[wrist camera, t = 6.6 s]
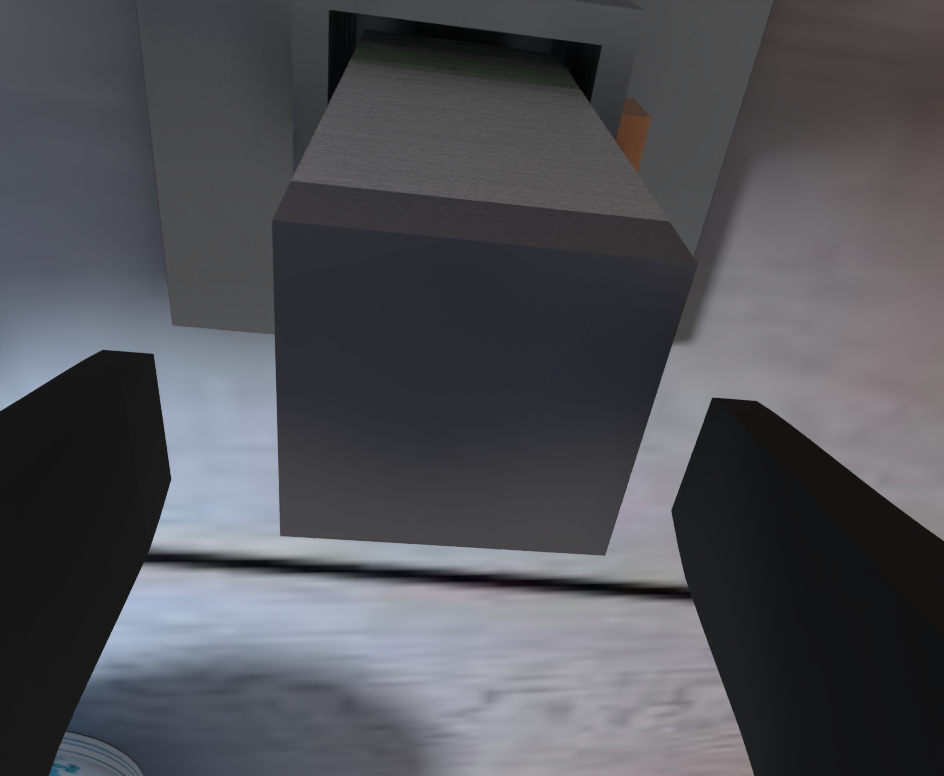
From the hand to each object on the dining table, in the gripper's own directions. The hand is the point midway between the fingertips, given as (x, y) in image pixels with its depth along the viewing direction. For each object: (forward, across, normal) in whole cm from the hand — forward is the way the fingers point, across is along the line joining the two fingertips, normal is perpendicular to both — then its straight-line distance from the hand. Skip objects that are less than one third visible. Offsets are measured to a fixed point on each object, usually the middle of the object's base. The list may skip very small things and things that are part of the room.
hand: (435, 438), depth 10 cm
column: (+5, 0, -3) cm, 5 cm away
